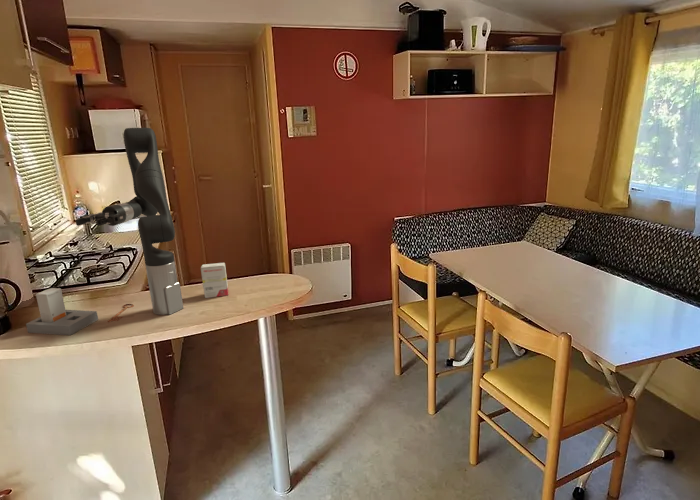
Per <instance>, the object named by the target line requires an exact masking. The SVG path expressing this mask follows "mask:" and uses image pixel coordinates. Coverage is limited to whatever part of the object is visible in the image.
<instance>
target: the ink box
mask: <svg viewBox="0 0 700 500" xmlns="http://www.w3.org/2000/svg"><path fill="white" fill-rule="evenodd" d="M200 273H201V279H202V280H201V281H202V287H203V293H204V299H209V298H215V297H216V298H218V297H223V296H225V297H226V296H229V287H228V286H229V285H228V278H227V277H228V276H227V269H226V263H225V262H217V263H207V264H206V263H205V264H202V265H201V266H200Z"/></svg>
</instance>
